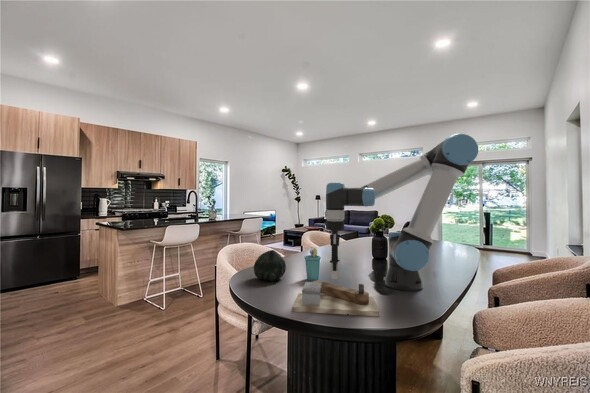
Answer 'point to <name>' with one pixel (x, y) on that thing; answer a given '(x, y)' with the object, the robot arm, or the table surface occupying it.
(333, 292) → the wooden bar with peg
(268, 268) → the squash
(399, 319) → the table surface
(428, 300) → the table surface
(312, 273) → the cup
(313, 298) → the block
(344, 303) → the pintle board
